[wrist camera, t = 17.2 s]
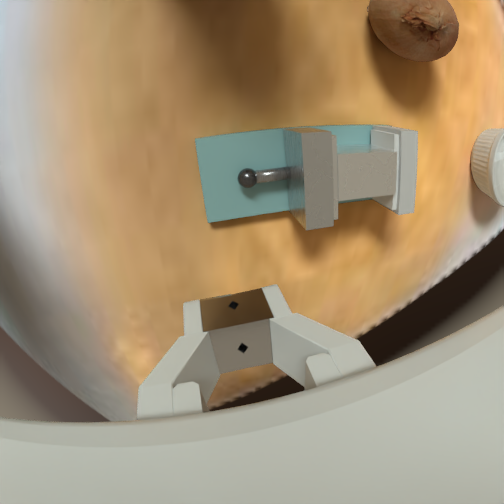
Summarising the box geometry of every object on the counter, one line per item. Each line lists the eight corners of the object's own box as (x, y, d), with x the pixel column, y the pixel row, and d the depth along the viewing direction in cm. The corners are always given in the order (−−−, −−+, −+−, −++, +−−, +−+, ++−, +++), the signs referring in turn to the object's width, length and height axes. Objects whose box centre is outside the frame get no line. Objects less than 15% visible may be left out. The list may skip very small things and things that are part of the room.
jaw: (241, 218, 29) (250, 239, 24) (231, 134, 25) (238, 139, 21) (318, 206, 30) (339, 225, 25) (314, 127, 26) (338, 131, 21)
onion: (365, 52, 27) (389, 69, 20) (353, -20, 20) (374, -30, 14) (438, 55, 25) (478, 76, 18) (430, -14, 18) (472, -15, 11)
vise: (207, 218, 30) (210, 244, 24) (195, 138, 26) (194, 145, 21) (385, 194, 32) (417, 212, 26) (385, 124, 28) (421, 131, 23)
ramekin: (487, 107, 29) (514, 112, 24) (510, 159, 33) (534, 168, 28) (455, 159, 32) (483, 169, 27) (481, 209, 36) (505, 221, 31)
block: (317, 186, 29) (338, 201, 24) (315, 146, 27) (337, 154, 23) (369, 181, 30) (395, 194, 25) (368, 143, 28) (397, 151, 23)
